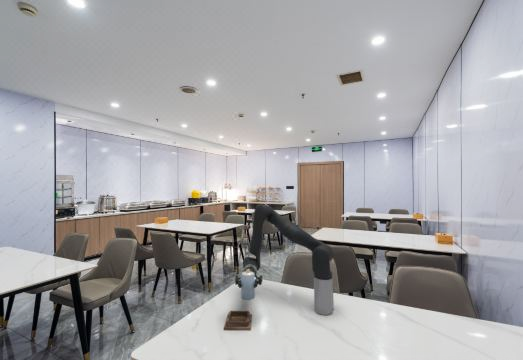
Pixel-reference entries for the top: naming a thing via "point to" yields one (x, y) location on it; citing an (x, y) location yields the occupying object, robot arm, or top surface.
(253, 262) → the robot arm
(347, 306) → the top surface
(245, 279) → the candle jar
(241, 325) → the tray
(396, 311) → the top surface
